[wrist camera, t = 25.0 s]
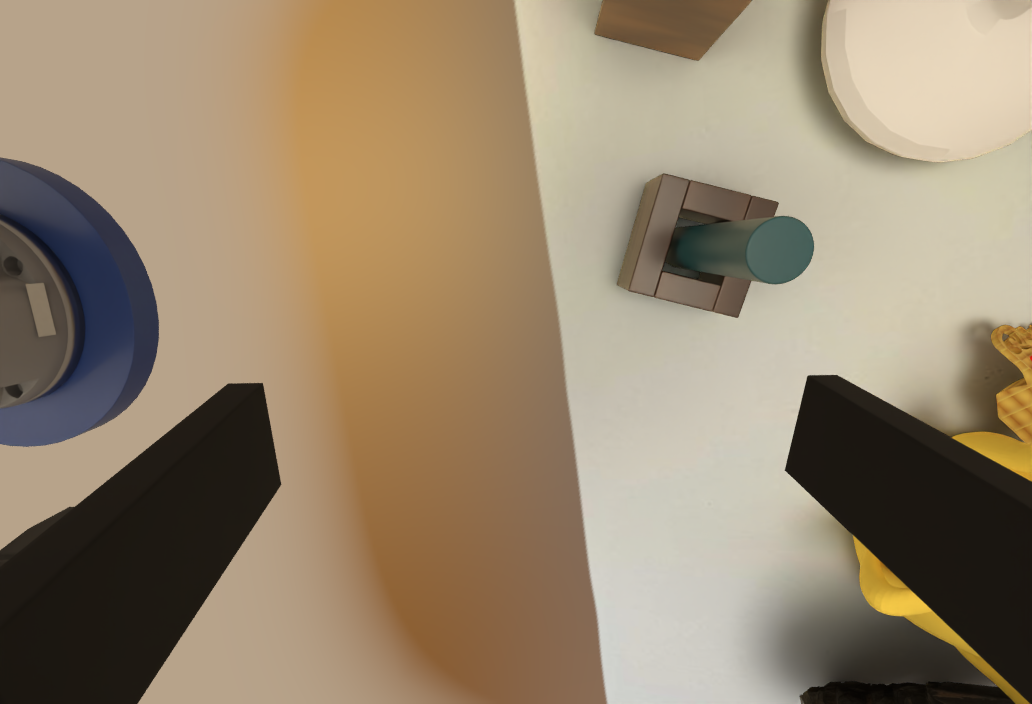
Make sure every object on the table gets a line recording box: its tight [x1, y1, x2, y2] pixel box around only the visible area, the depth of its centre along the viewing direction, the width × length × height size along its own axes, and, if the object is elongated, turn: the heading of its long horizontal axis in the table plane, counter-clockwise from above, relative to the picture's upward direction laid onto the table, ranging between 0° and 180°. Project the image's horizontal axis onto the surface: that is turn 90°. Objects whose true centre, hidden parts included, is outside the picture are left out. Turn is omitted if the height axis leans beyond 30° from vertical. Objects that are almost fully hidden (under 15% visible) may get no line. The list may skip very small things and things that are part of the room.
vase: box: [821, 0, 1032, 163], centre depth 27 cm, size 16×16×7 cm
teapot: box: [853, 432, 1032, 704], centre depth 32 cm, size 22×16×11 cm
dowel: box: [665, 216, 814, 284], centre depth 27 cm, size 3×3×14 cm
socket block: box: [617, 173, 779, 318], centre depth 31 cm, size 7×7×4 cm
